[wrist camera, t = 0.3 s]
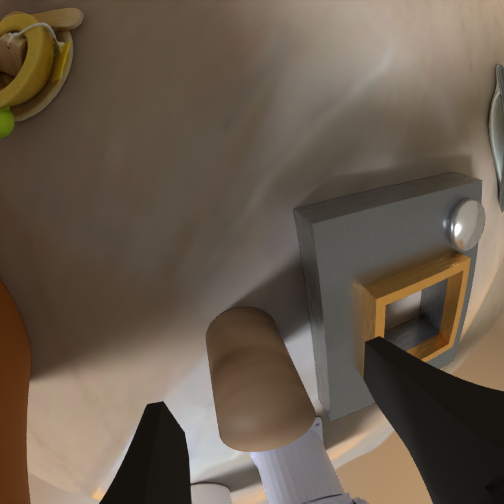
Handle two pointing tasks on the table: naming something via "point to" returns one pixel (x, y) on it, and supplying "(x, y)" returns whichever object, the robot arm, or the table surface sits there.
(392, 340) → the gray peg socket base
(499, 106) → the salad plate
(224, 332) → the walnut peg
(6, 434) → the flower pot
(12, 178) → the table surface
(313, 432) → the robot arm
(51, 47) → the toy tea set
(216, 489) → the can
